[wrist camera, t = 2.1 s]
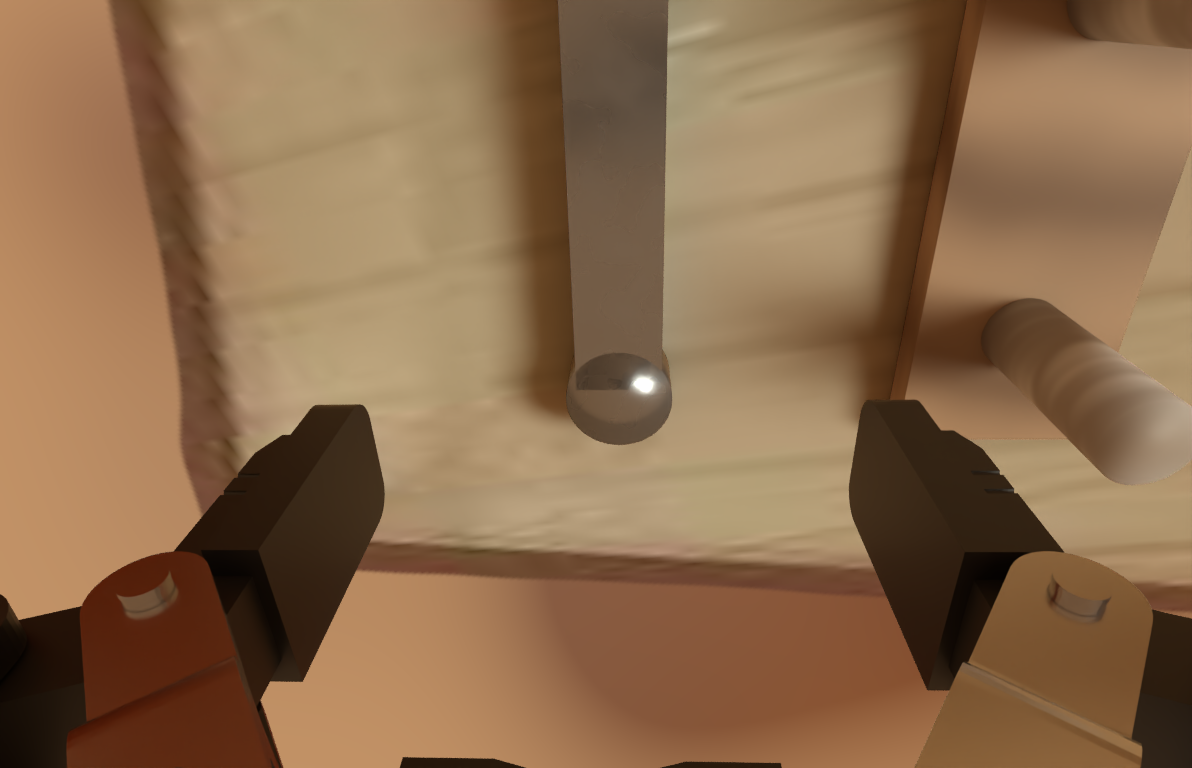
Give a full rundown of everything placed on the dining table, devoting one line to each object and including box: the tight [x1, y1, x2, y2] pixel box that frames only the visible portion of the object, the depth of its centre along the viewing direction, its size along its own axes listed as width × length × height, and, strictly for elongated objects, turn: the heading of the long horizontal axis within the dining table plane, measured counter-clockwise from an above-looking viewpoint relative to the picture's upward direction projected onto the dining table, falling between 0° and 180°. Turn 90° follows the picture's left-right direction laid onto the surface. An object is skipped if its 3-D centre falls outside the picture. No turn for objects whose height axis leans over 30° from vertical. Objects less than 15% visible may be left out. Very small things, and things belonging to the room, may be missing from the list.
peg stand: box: [890, 0, 1192, 485], centre depth 23 cm, size 22×8×10 cm, turn 2°
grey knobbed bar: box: [558, 0, 672, 445], centre depth 27 cm, size 21×4×2 cm, turn 2°
